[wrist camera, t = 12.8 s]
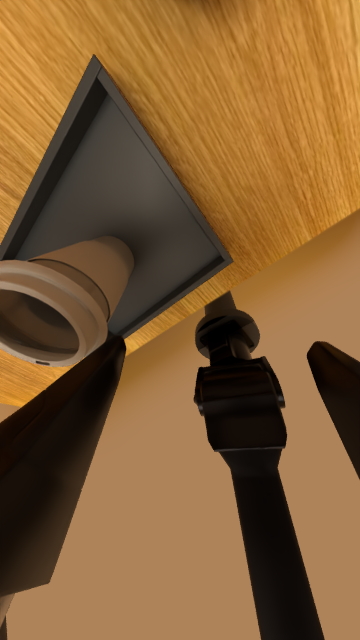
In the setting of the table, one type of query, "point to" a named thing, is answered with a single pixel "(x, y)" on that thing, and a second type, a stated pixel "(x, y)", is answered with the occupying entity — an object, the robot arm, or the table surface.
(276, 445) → the robot arm
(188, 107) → the table surface
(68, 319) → the cup
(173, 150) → the table surface
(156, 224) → the tray
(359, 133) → the table surface
